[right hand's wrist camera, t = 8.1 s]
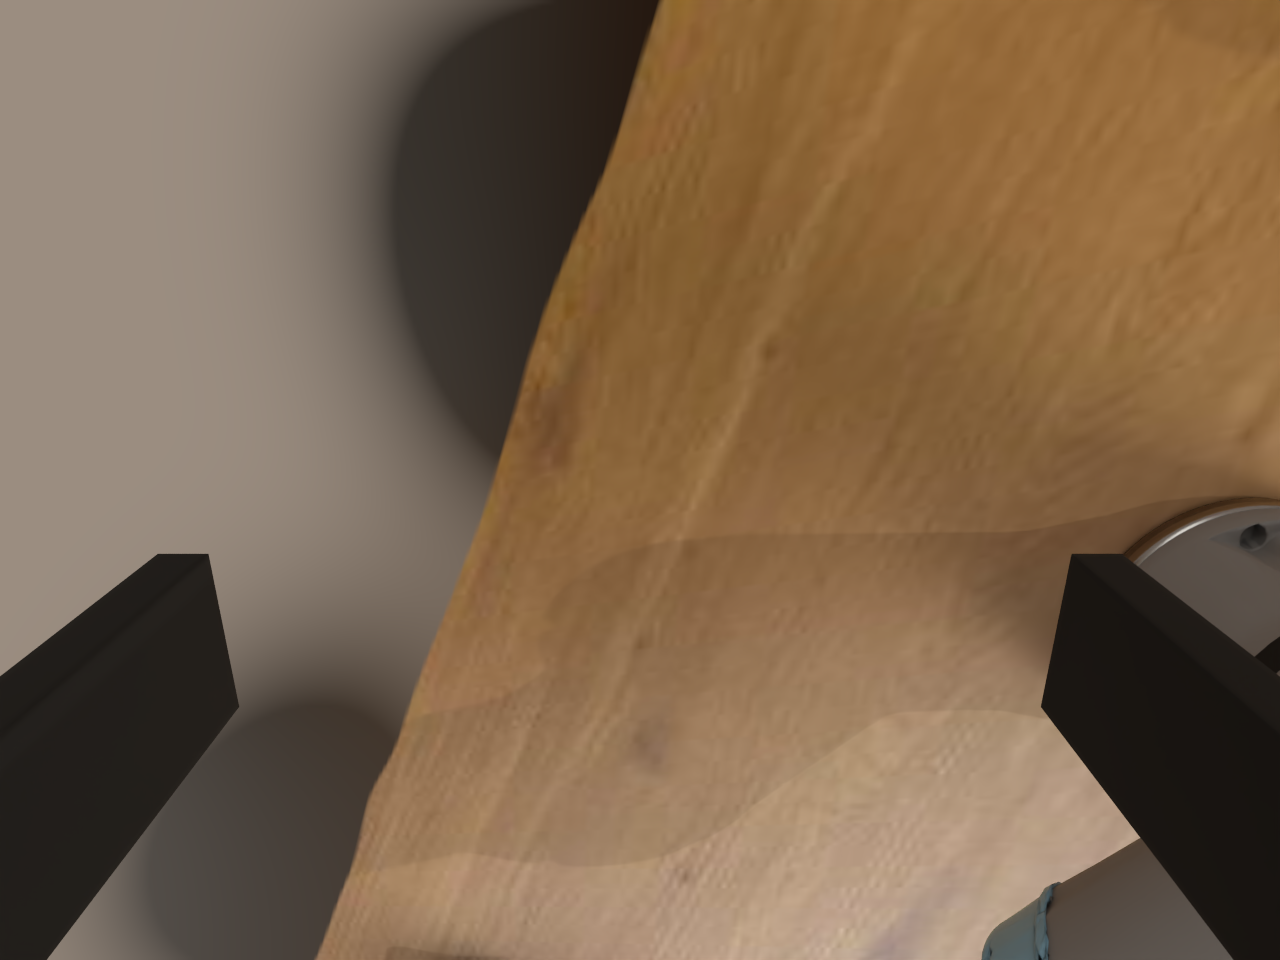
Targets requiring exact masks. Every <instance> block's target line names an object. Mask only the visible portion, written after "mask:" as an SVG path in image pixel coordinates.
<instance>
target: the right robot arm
mask: <svg viewBox="0 0 1280 960" xmlns="http://www.w3.org/2000/svg"><path fill="white" fill-rule="evenodd" d="M238 708H239V704H238V699H237V694H236V689H235V685H234V679H233V674H232V669H231V664H230V659H229V654H228V650H227V645H226V639H225V635H224V629H223V625H222V620H221V614H220V610H219V605H218V600H217V595H216V590H215V585H214V580H213V575H212V570H211V565H210V560H209V555H208V554H157V555H156V556H155V557H153V558H152V559H151V560H150V561H148V562H147V563H146V564H144V565H143V566H142V567H141V568H139V569H138V570H137V571H135V572H134V573H133V574H132V575H130V576H129V577H128V578H126V579H125V580H124V581H122V582H121V583H120V584H119V585H117V586H116V587H115V588H113V589H112V590H111V591H110V592H108V593H107V594H106V595H104V596H103V597H102V598H101V599H99V600H98V601H97V602H95V603H94V604H93V605H92V606H90V607H89V608H88V609H86V610H85V611H84V612H83V613H81V614H80V615H79V616H77V617H76V618H75V619H74V620H72V621H71V622H70V623H68V624H67V625H66V626H65V627H63V628H62V629H61V630H59V631H58V632H57V633H56V634H54V635H53V636H52V637H50V638H49V639H48V640H47V641H45V642H44V643H43V644H41V645H40V646H39V647H38V648H36V649H35V650H34V651H32V652H31V653H30V654H29V655H27V656H26V657H25V658H23V659H22V660H21V661H19V662H18V663H17V664H16V665H14V666H13V667H12V668H10V669H9V670H8V671H7V672H5V673H4V674H3V675H1V676H0V960H47V959H48V957H49V956H50V955H51V953H52V952H53V951H54V949H55V948H56V947H57V945H58V944H59V943H60V941H61V940H62V939H63V937H64V936H65V935H66V934H67V932H68V931H69V930H70V928H71V927H72V926H73V924H74V923H75V922H76V920H77V919H78V918H79V917H80V915H81V914H82V913H83V911H84V910H85V909H86V907H87V906H88V905H89V903H90V902H91V901H92V899H93V898H94V897H95V896H96V894H97V893H98V892H99V890H100V889H101V888H102V886H103V885H104V884H105V882H106V881H107V880H108V878H109V877H110V876H111V874H112V873H113V872H114V870H115V869H116V868H117V867H118V865H119V864H120V863H121V861H122V860H123V859H124V857H125V856H126V855H127V853H128V852H129V851H130V849H131V848H132V847H133V846H134V844H135V843H136V842H137V840H138V839H139V838H140V836H141V835H142V834H143V832H144V831H145V830H146V828H147V827H148V826H149V824H150V823H151V822H152V821H153V819H154V818H155V817H156V815H157V814H158V813H159V811H160V810H161V809H162V807H163V806H164V805H165V803H166V802H167V801H168V800H169V798H170V797H171V796H172V794H173V793H174V792H175V790H176V789H177V788H178V786H179V785H180V784H181V782H182V781H183V780H184V779H185V777H186V776H187V775H188V773H189V772H190V771H191V769H192V768H193V767H194V765H195V764H196V763H197V761H198V760H199V759H200V757H201V756H202V755H203V753H204V752H205V751H206V750H207V748H208V747H209V746H210V744H211V743H212V742H213V740H214V739H215V738H216V736H217V735H218V734H219V732H220V731H221V730H222V729H223V727H224V726H225V725H226V723H227V722H228V721H229V719H230V718H231V717H232V715H233V714H234V713H235V711H236V710H237V709H238ZM1041 708H1042V709H1043V710H1044V711H1045V713H1046V714H1047V715H1048V717H1049V718H1050V719H1051V721H1052V722H1053V723H1054V725H1055V726H1056V727H1057V729H1058V730H1059V731H1060V732H1061V734H1062V735H1063V736H1064V738H1065V739H1066V740H1067V742H1068V743H1069V744H1070V746H1071V747H1072V748H1073V750H1074V751H1075V752H1076V754H1077V755H1078V756H1079V757H1080V759H1081V760H1082V761H1083V763H1084V764H1085V765H1086V767H1087V768H1088V769H1089V771H1090V772H1091V773H1092V775H1093V776H1094V777H1095V779H1096V780H1097V781H1098V782H1099V784H1100V785H1101V786H1102V788H1103V789H1104V790H1105V792H1106V793H1107V794H1108V796H1109V797H1110V798H1111V800H1112V801H1113V802H1114V803H1115V805H1116V806H1117V807H1118V809H1119V810H1120V811H1121V813H1122V814H1123V815H1124V817H1125V818H1126V819H1127V821H1128V822H1129V823H1130V825H1131V826H1132V827H1133V828H1134V830H1135V831H1136V832H1137V834H1138V835H1139V836H1140V839H1138V840H1136V841H1135V842H1133V843H1131V844H1129V845H1128V846H1126V847H1124V848H1123V849H1121V850H1119V851H1118V852H1116V853H1114V854H1112V855H1111V856H1109V857H1107V858H1106V859H1104V860H1102V861H1101V862H1099V863H1097V864H1095V865H1094V866H1092V867H1090V868H1088V869H1086V870H1085V871H1083V872H1081V873H1079V874H1077V875H1076V876H1074V877H1072V878H1070V879H1068V880H1067V881H1065V882H1063V883H1060V882H1057V883H1054V884H1052V885H1050V886H1048V887H1046V888H1045V889H1044V891H1043V892H1042V894H1041V896H1040V897H1039V898H1038V899H1036V900H1035V901H1033V902H1032V903H1030V904H1029V905H1027V906H1026V907H1025V908H1023V909H1022V910H1020V911H1019V912H1017V913H1016V914H1015V915H1013V916H1012V917H1010V918H1008V919H1007V920H1005V921H1004V922H1002V923H1001V924H999V925H998V926H997V927H996V928H995V929H994V930H993V931H992V932H991V934H990V935H989V937H988V938H987V940H986V943H985V945H984V948H983V952H982V960H1280V500H1278V499H1269V498H1241V499H1232V500H1226V501H1220V502H1216V503H1212V504H1208V505H1205V506H1202V507H1199V508H1196V509H1193V510H1191V511H1188V512H1186V513H1184V514H1181V515H1179V516H1177V517H1175V518H1173V519H1171V520H1169V521H1168V522H1166V523H1164V524H1162V525H1161V526H1159V527H1158V528H1156V529H1154V530H1153V531H1151V532H1150V533H1149V534H1147V535H1146V536H1145V537H1143V538H1142V539H1141V540H1139V541H1138V542H1137V543H1136V544H1135V545H1134V546H1132V547H1131V548H1130V549H1129V550H1128V551H1127V552H1126V553H1125V554H1124V555H1123V554H1072V555H1071V560H1070V565H1069V570H1068V575H1067V580H1066V585H1065V590H1064V595H1063V600H1062V605H1061V610H1060V614H1059V619H1058V624H1057V629H1056V634H1055V639H1054V644H1053V649H1052V654H1051V659H1050V664H1049V669H1048V674H1047V679H1046V684H1045V689H1044V694H1043V699H1042V704H1041Z"/></svg>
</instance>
